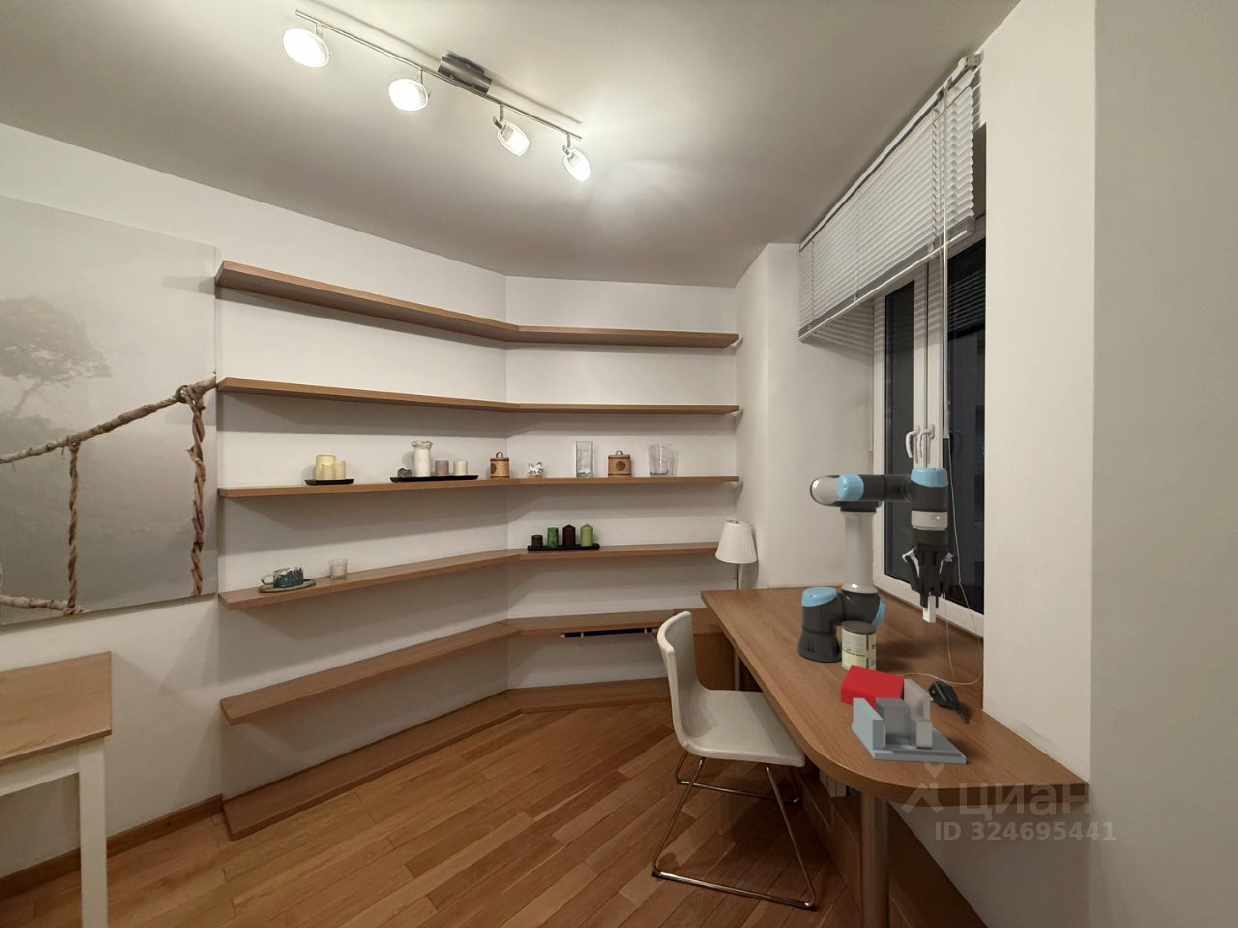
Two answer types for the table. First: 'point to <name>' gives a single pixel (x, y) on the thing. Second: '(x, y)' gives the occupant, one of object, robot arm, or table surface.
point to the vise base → (873, 738)
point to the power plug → (946, 696)
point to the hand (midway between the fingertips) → (929, 620)
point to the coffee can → (858, 645)
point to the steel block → (895, 720)
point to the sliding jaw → (919, 715)
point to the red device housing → (870, 685)
